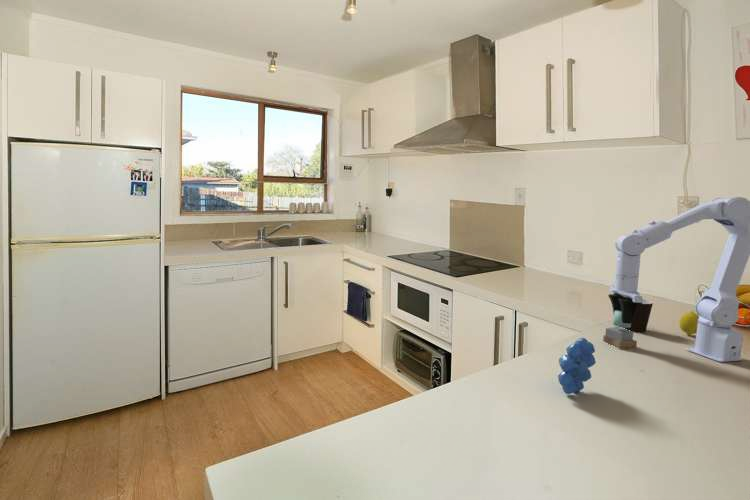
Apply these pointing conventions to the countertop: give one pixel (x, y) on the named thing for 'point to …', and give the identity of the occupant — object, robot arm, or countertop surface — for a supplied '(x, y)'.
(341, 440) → the countertop surface
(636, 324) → the coffee mug
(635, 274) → the robot arm
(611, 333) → the grey square slab
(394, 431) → the countertop surface
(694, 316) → the lemon
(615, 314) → the teal cylinder
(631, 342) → the walnut block
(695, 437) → the countertop surface
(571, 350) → the grapes
